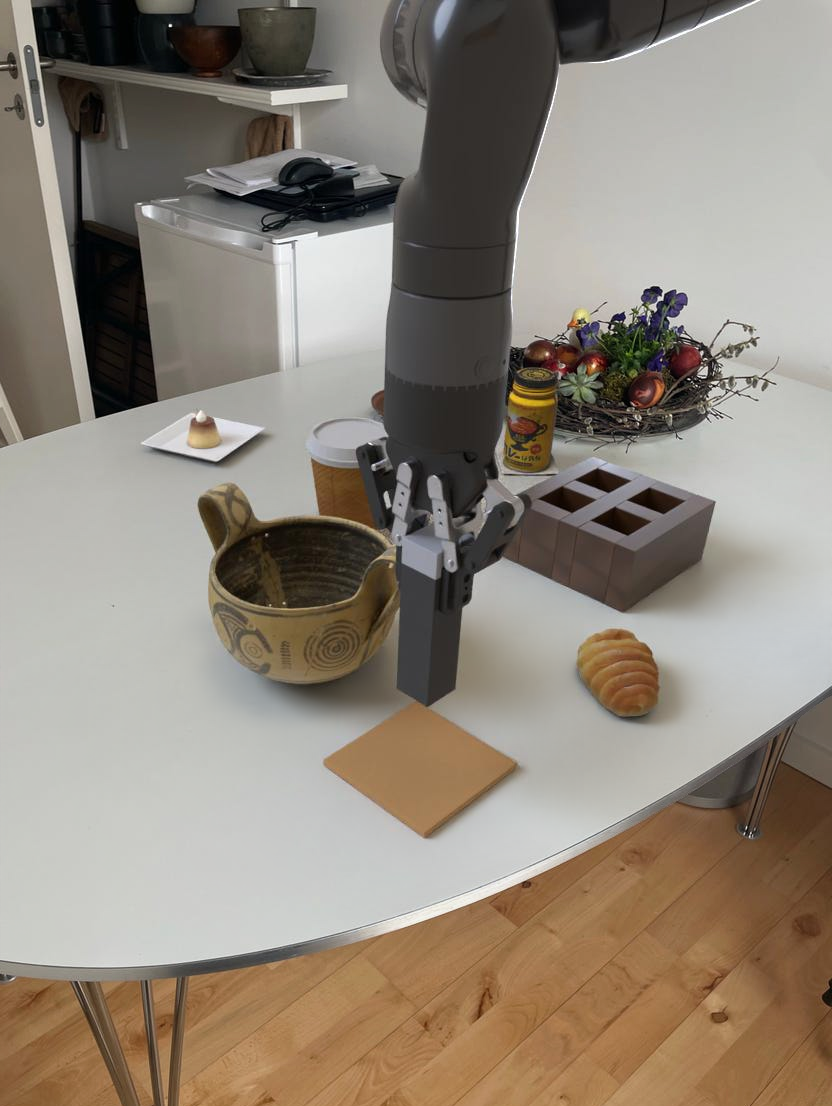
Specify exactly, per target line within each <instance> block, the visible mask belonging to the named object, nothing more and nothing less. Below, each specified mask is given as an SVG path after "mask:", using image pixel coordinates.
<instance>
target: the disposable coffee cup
mask: <svg viewBox="0 0 832 1106" xmlns="http://www.w3.org/2000/svg"><path fill="white" fill-rule="evenodd" d="M382 437H388V435H387V433H386V431H385V429H384V425H383V423H382V422H379V421H377V420H374V419H370V418H366V417H359V416H342V417H341V416H340V417H332V418H327V419H325V420H323V421H319V422H317V423H316V424H314V425H313V426H312V427H311V428H310V430H309V434H308V437H307V439H306V440H305V448H306V451H307V453H308V456H309V457H310V464H311V468H312V469H311V470H312V476H313V483H314V489H315V497H316V503H317V508H318V515H319V516H331V517H339V518H343V519H347V520H351V521H355V522H358V523H361V524H364V525H366V526H369V527H370V528H372V529H375V530H376V531H378V528H377V527H376V526H375V524H374V521H373V517H372V514H371V510H370V506H369V502H368V499H367V495H366V491H365V487H364V483H363V480H362V476H361V472H360V468H359V465H358V461H357V457H356V449H357V447H359V446H361V445H364V444H366V443H368V442H370V441H373V440H375V439H379V438H382Z"/></svg>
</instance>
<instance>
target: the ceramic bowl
mask: <svg viewBox="0 0 832 1106" xmlns="http://www.w3.org/2000/svg"><path fill="white" fill-rule="evenodd" d="M197 509H198V513H199V516H200V517H199V518H200V519H201V521H202V524H203V526H204V529H205V531H206V533H207V536H208V538H209V540H210V543H211V545H212V548H213V550H214V553H215V554H214V555H213V557H212V559H211V561H210V566H209V572H208V581H207V596H208V597H207V599H208V606H209V611H210V615H211V618H212V622H213V625H214V629H215V631H216V634H217V636H218V638H219V640H220V642H221V643H222V646H223V647H224V648H225V649H226V651H228V653H229V655H231V656H232V658H233V659H235V660H236V662H238V663H239V664H240V665H242V666H243V667H245V668H246V669H248V670H250V671H251V672H253V673H256V674H258V675H259V676H262V677H264V678H267V679H268V680H273V681H277V682H280V683H284V684H285V683H286V684H293V685H312V684H313V685H314V684H322V683H327V682H331V681H334V680H338V679H340V678H343V677H345V676H347V675H349V674H351V673H353V672H355V671H356V670H358V669H360V668H361V667H362V666H364V664H366V663H368V661H369V660H370V659H372V658H373V656H374V655H375V654H376V653H377V652H378V651H379V649H380V648H381V647H382V646H383V644H384V643H385V641H386V639H387V637H388V635H389V633H390V631H391V629H392V626H393V623H394V621H395V617H396V614H397V612H398V610H400V590H399V589H398V581H397V579H396V575H395V567H396V566H395V565H396V545H395V544H394V543H393V544H391V542H390V541H389V540H388V538H387V537H386V536H385V535H383V534H382V533H381V532H379V531H378V530H377V531H376V530H375V529H372V528H370V527H369V526H366V525H364V524H361V523H358V522H355V521H351V520H347V519H343V518H339V517H331V516H319V514H317V515H316V514H313V515H312V514H311V515H310V514H309V515H307V514H306V515H305V514H304V515H291V516H282V517H278V518H274V519H270V520H265V521H264V520H260V519H258V518H257V517H256V514H255V513H254V510H253V508H252V506H251V503H250V502H249V499H248V497H247V496H246V495H245V493H244V491H243V490H242V489H241V488H240V487H239V486H238V485H237V484H236V483H233V482H231V481H228V482H227V481H225V482H223V483H221V484H219V485H217V486H215V487H212V488H210V489H208V490H206V491H205V492H204V493H202V494H201V495H200V496H199V497H198V499H197Z"/></svg>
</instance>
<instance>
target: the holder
mask: <svg viewBox="0 0 832 1106" xmlns="http://www.w3.org/2000/svg"><path fill="white" fill-rule="evenodd" d="M519 493H526V494H527V495H528V496H529V497H530V498H531V501H532V506H531V509H530V510H529V512H528V514H527V515H526V517H525V519H524V521H523V522H522V524H521V526H520V527H519V529H518V531H517V532H516V534H515V536H514V538H513V539H512V541H511V543H510V544H509V546H508V548H507V550H506V551H505V553H504V555H503V556H502V558H504V559H507V560H508V561H511V562H513V563H515V564H518V565H520V566H522V567H525V568H527V569H528V570H531V571H533V572H535V573H537V574H539V575H542V576H543V577H545V578H548V579H550V580H551V581H554V582H556V583H558V584H560V585H563V586H565V587H567V588H569V589H571V590H574V591H576V592H578V593H581V595H584V596H587V597H589V598H591V599H592V600H593V599H594V600H595V601H598V602H599V603H601V604H604V605H606V606H608V607H610V608H612V609H614V610H616V611H619V612H620V613H625V612H626V611H627V610H629V609H630V608H632V607H633V606H635V605H637V604H638V603H639V602H641V601H642V600H644V599H645V598H647V597H649V595H652V593H655V591H657V590H659V589H660V588H661V587H663V586H664V585H666V584H668V583H669V582H670V581H672V580H673V579H675V578H676V577H677V576H678V577H679V575H681V574H682V573H684V572H685V571H686V570H688V569H689V568H691V567H692V566H693V565H696V564H697V563H698V562H700V561H701V560H702V559H703V555H704V552H705V551H704V550H705V547H706V543H707V539H708V535H709V532H710V527H711V524H712V520H713V515H714V511H715V508H716V502H717V501H716V500H713V499H711V498H708V497H706V496H702V495H700V494H696V493H695V492H694V493H693V492H691V491H689V490H685V489H682V488H680V487H677V486H674V485H672V484H669V483H667V482H664V481H660V480H658V479H656V478H653V477H650V476H647V475H645V474H642V473H638V472H636V471H633V470H631V469H627V468H625V467H623V466H620V465H616V464H614V463H611V462H608V461H605V460H603V459H600V458H597V457H594V456H591V457H589V458H587V459H585V460H583V461H580V462H579V463H577V464H575V465H572V466H571V467H569V468H566V469H564V470H563V471H560V473H559V474H555V475H553V476H551V477H548V478H547V479H544V480H543V481H541V482H539V483H536V484H535V485H532V486H531V487H528V488H527V489H525V490H522V491H520V492H519ZM519 493H516V494H513V495H514V496H515V495H517V494H519Z"/></svg>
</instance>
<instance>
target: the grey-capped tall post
mask: <svg viewBox="0 0 832 1106" xmlns="http://www.w3.org/2000/svg"><path fill="white" fill-rule="evenodd" d="M459 544H460V548H462V545H461V538H460V540H459ZM443 567H444V564H443V557H442V546H441V540H440V539H439V538H437V537H436V536H435V529H434V522H432V523H429V525H428V526H426V527H424V528H422V529H420V530H417V531H415V532H413V533H411V534H409V535H407V536H405V537H403V540H402V565H401V589H400V607H399V613H398V614H399V617H398V637H397V638H398V639H397V640H398V641H397V662H396V663H397V665H396V687H395V688H396V689H397V690H398V691H400V692H401V693H403V694H404V695H406V696H408V697H410V698H411V699H412V700H415V701H417V702H419V703H421V704H422V705H424V706H425V707H427V708H429V707H431V706H432V705H433V704H435V703H437V702H439V700H442V699H443V698H444V697H446V696H447V695H449V694H450V693H452V692H454V691H455V690H456V688H457V687H456V686H457V678H458V677H457V676H458V675H457V674H458V663H459V654H460V653H459V651H460V642H461V640H460V639H461V629H462V619H463V618H462V617H463V608H462V609H460V610H459V611H457V612H455V613H453V614H452V615H450V616H447V615H445V614H443V613H441V612H440V611H439V597H440V582H441V568H443Z"/></svg>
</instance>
